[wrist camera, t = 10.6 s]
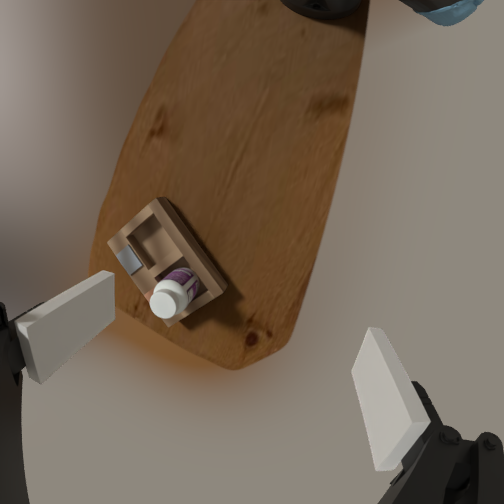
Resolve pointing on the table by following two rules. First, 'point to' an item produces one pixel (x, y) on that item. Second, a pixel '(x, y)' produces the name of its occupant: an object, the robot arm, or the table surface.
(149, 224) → the socket block
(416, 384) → the robot arm
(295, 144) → the table surface
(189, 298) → the pill bottle
